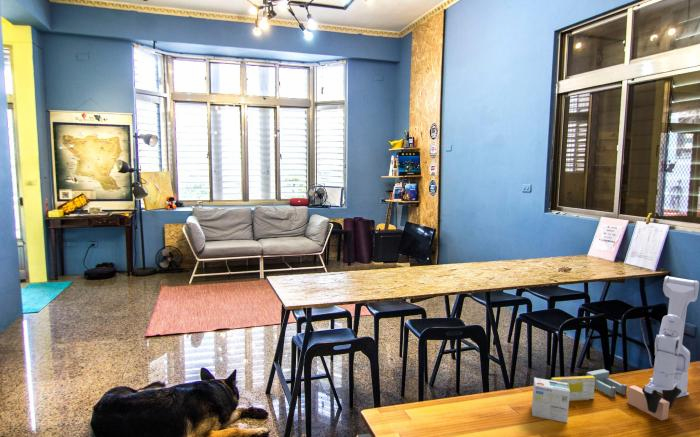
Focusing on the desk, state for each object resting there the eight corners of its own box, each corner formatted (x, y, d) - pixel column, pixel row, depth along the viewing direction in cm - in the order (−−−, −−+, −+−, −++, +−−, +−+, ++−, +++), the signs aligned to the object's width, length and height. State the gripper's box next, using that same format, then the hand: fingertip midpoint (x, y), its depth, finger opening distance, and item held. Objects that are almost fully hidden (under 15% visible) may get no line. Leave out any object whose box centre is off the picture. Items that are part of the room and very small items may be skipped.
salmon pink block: (632, 401, 159) (634, 385, 158) (667, 419, 148) (669, 402, 147) (626, 402, 158) (628, 386, 157) (661, 420, 147) (663, 403, 146)
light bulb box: (565, 413, 149) (568, 382, 148) (567, 423, 143) (571, 391, 142) (530, 406, 153) (533, 376, 151) (531, 416, 146) (534, 385, 145)
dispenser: (602, 381, 173) (603, 368, 173) (627, 394, 164) (629, 381, 163) (585, 384, 170) (586, 372, 169) (610, 398, 160) (612, 384, 160)
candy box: (590, 397, 161) (592, 375, 160) (594, 400, 159) (596, 377, 158) (548, 399, 158) (551, 376, 157) (552, 402, 156) (554, 379, 155)
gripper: (666, 362, 154) (661, 400, 155) (637, 368, 148) (633, 407, 150) (688, 371, 147) (683, 410, 149) (659, 377, 142) (654, 418, 143)
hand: (659, 409), depth 149 cm, fingers open, 7 cm apart
